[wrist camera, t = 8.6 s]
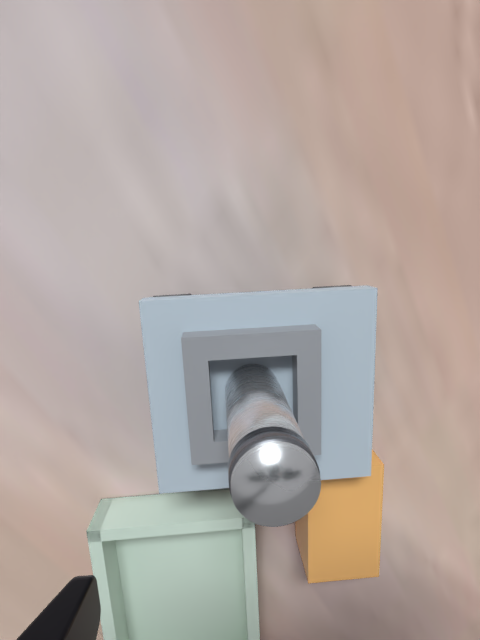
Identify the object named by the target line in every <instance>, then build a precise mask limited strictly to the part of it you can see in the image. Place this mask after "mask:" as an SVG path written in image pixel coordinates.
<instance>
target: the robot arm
mask: <svg viewBox="0 0 480 640" xmlns="http://www.w3.org/2000/svg"><path fill="white" fill-rule="evenodd" d="M100 616H101V605H100V598H99V592H98V585H97V580H96V577H95V576H93V575H88V576H77V577H74V578H73V579H72V580H71V581H70V582H69V583H68V584H67V585H66V586H65V587H64V588H63V589H62V590H61V591H60V592H59V594H58V595H57V596H56V597H55V598H54V599H53V600H52V601H51V602H50V603H49V605H48V606H47V607H46V608H45V609H44V610H43V611H42V612H41V613H40V614H39V615H38V617H37V618H36V619H35V620H34V621H33V622H32V623H31V624H30V625H29V626H28V627H27V629H26V630H25V631H24V632H23V633H22V634H21V635H20V636H19V637H18V638H17V640H96V637H97V632H98V627H99V622H100Z"/></svg>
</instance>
